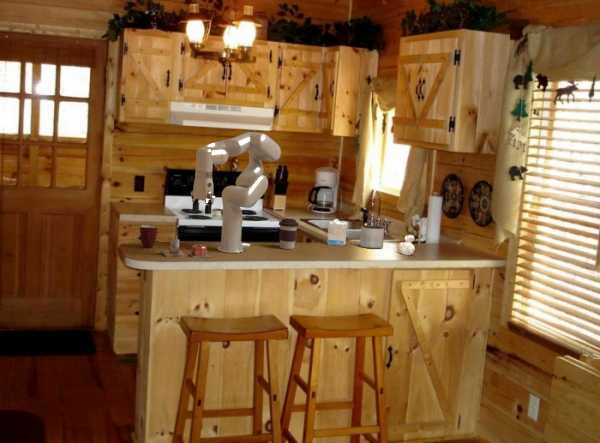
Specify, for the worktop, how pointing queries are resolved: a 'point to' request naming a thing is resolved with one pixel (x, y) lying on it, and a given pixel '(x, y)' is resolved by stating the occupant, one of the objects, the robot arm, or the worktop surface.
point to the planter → (372, 237)
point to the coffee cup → (288, 233)
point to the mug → (148, 235)
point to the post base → (167, 253)
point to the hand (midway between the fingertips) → (201, 212)
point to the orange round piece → (199, 250)
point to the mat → (198, 256)
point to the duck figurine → (407, 246)
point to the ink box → (337, 233)
